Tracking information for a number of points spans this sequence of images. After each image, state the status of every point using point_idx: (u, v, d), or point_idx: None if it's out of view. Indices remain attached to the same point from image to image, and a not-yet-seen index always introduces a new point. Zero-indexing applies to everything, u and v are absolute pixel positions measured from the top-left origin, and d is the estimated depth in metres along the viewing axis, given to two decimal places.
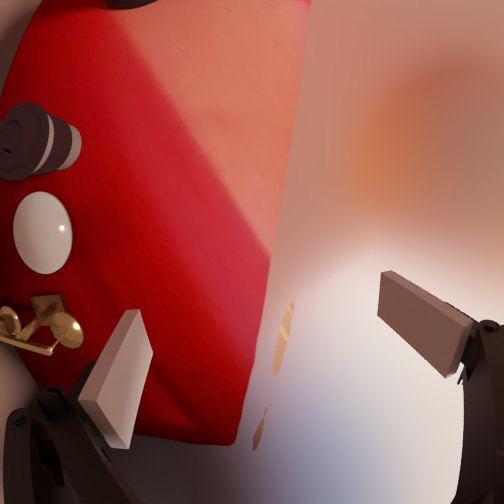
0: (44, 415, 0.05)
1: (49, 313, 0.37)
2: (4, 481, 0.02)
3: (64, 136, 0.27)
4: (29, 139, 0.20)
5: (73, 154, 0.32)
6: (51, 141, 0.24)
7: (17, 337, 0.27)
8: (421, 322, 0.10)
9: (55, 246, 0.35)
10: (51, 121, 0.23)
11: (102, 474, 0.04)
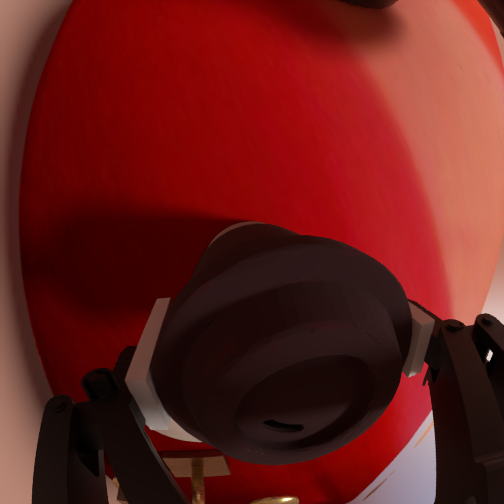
0: (89, 396, 0.06)
1: (203, 473, 0.26)
2: (35, 468, 0.03)
3: None
4: None
5: None
6: None
7: None
8: None
9: None
10: None
11: (146, 458, 0.05)
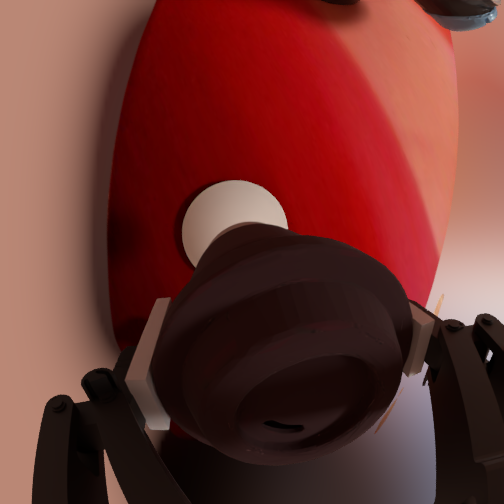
0: (89, 396, 0.06)
1: None
2: (35, 469, 0.03)
3: None
4: None
5: None
6: None
7: None
8: None
9: None
10: None
11: (146, 457, 0.05)
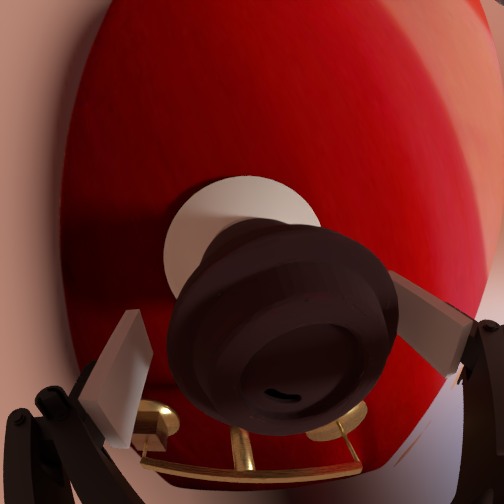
0: (44, 415, 0.05)
1: None
2: (4, 481, 0.02)
3: None
4: None
5: None
6: None
7: (247, 468, 0.16)
8: (421, 322, 0.10)
9: None
10: None
11: (102, 474, 0.04)
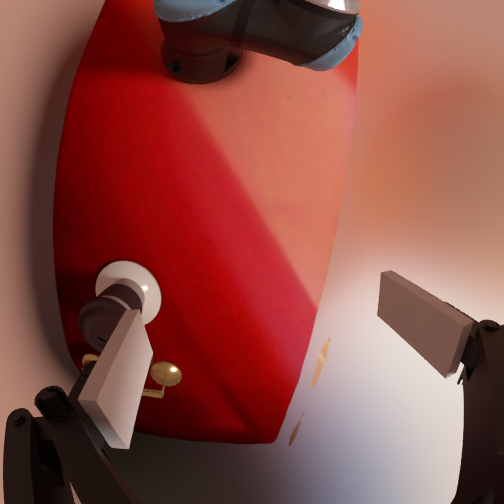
0: (44, 415, 0.05)
1: None
2: (4, 481, 0.02)
3: None
4: None
5: None
6: None
7: None
8: (421, 322, 0.10)
9: (144, 306, 0.49)
10: (130, 309, 0.39)
11: (102, 474, 0.04)
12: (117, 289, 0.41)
